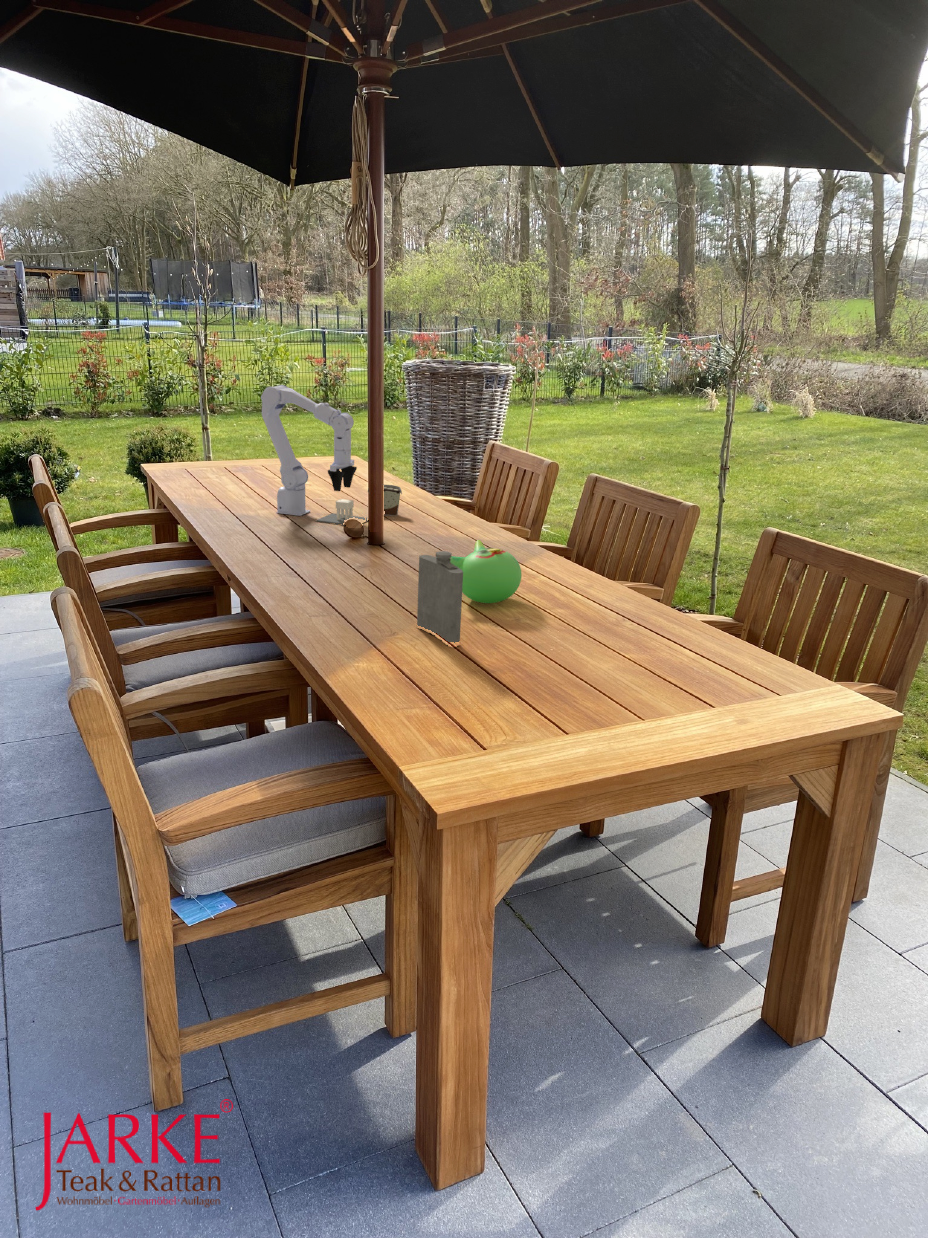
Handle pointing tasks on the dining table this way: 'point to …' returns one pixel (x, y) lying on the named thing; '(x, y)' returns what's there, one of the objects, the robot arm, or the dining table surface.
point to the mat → (335, 519)
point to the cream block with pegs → (347, 506)
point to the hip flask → (440, 595)
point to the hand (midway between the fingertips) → (342, 489)
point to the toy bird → (488, 574)
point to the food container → (391, 499)
